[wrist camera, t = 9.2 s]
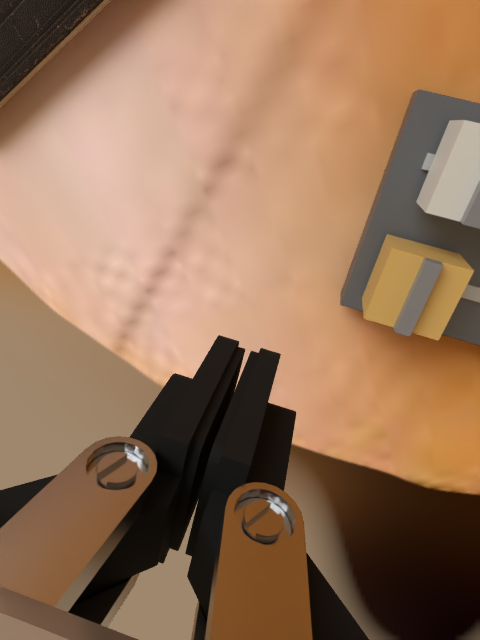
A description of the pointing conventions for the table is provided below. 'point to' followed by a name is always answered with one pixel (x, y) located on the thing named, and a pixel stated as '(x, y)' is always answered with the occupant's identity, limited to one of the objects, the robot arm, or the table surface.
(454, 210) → the white fader
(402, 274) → the amber fader
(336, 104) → the table surface
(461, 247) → the mixer console
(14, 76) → the hardcover book
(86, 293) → the table surface
